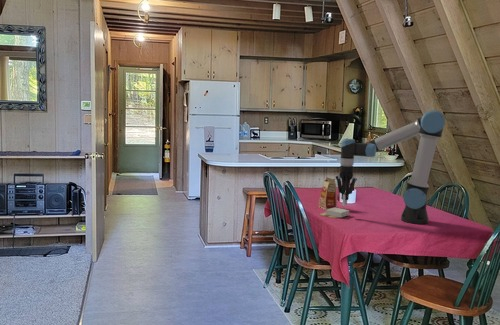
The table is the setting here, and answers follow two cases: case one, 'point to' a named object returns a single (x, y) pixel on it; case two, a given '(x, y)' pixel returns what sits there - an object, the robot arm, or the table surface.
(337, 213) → the tile
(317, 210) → the table surface
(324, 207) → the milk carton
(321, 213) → the cork mat
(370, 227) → the table surface
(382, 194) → the table surface
